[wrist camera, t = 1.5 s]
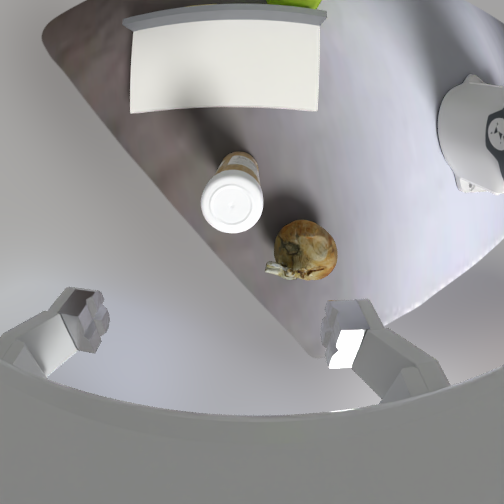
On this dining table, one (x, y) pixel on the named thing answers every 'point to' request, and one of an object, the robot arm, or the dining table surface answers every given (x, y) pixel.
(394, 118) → the dining table surface
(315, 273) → the onion
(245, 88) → the white slab
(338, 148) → the dining table surface
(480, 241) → the dining table surface
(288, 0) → the soap dispenser
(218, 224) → the sprinkles bottle
